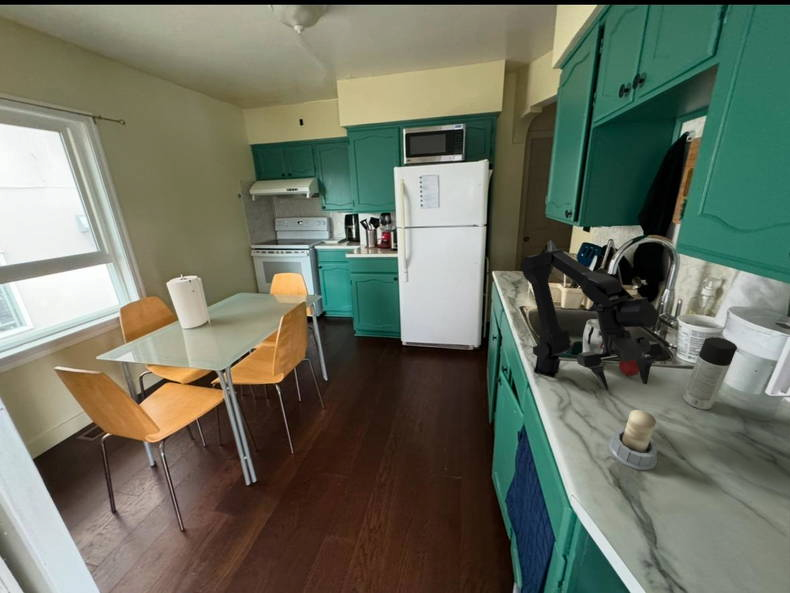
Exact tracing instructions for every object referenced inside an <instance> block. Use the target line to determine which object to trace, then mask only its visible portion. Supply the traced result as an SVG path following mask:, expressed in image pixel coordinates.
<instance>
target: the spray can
mask: <svg viewBox="0 0 790 593" xmlns="http://www.w3.org/2000/svg"><path fill="white" fill-rule="evenodd" d="M737 349H738V346H737V345H736V343H734V342H732V341H730V340H728V339H726V338H723V337H718V336H716V337H713V336H711V337H706V338H704V340H703V343H702V346H701V348H700V350H699V353H698V356H697V358H696V360H695V363H694V366H693V369H692V371H691V373H690V374H691V375H690V376H689V379H688V381H687V384H686V387H685V390H684V392H683V395H682V398H683V401H684V402H685V403H686V404H688V405H689V406H691V407H693V408H696V409H699V410H709V409H711V408H712V407H713V405H714V403H715V402H716V399H717V396H718V394H719V392H720V390H721V387H722V385H723V382H724V381H725V379H726V375H727V373H728V372H729V369H730V367H731V364H732V361H733V359H734V356H735V354H736V352H737Z"/></svg>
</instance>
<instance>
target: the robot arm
mask: <svg viewBox="0 0 790 593" xmlns="http://www.w3.org/2000/svg"><path fill="white" fill-rule="evenodd" d="M552 267H553V268H555V269H556V270H557V271H559V272H560V273H562V274H563V275H564V276H566V277H568V278H569V279H570V280H571V281H573V282H575V283H576V284H578V286H579V287H580V289H581V292H582V293H583V295H585V296H586V297H587V299H589V300H590V301H591V303H592V305H591V306H590V307H589V308H588V312H594V313H596V314H595V315H596V316H597V317H596V319H598V323H599V327H600V332H599V335H600V336H602V341H603V345H604V347H602V349H603V351H602V353H599V354H598V353H595V352H593V351H589V352H583V351H582V352H583V353H582V352H580V353H579V352H578V354H577V355H576V360H577V361H576V362H577V365H579V366H582V367H584V368H587V369H589V370H591V372H592V373H593V375H594V376H595V377H596V378H597V380H598V381H599V383H600V384H601V386H602V387H603V389H604V390H605V391H606V392H608V391H609V386H608V381H607V378H606V375H605V371H604V369H605V366H603V365H602V361H608V360H614V359H619V361H620V360H621V361H624V362H628V361H630V360H637V364H638V368H639V376H640V379H641V382H642V383H643V384H642V385H645V386H646V385H648V380H649V378H650V372H651V367H652V365H653V363H654V362H655V361H656V360H659V359H660V356H663V355H665V349H664V347H663V345H662V344H661V343H659V342H656V341H655V342H654V341H652V340H651V341H650V339H649V338H648V337H647V336H645V335H644V336H639V337H636V338H633V337H632V336H631V333H630V331H629V329H627V328H651V327H654V326H655V325H656V324H657V321H658V319H659V317H658V316H659V313H658V310H657V309H656V307H655V306H654V305H653V304H652V302H649V300H648V297H639V298H635V297H633V295H632V294H631V293H630V292H628V290H627V289H625V287H623V285H622V283H621V281H620V279H619V280H618V278H616V277H613V276H610V275H608V274H605V273H600V272H596V271H593V270H592V269H590V268H588V267H587V266H585V265H584V264H582V263H581V262H579V261H578V260H576V259H575V258H574V257H571V256H569V254H567V253H566V252H565V251H564V250H562V249H561V248H556V249H549V250H546V251H545V252H543V253H539V254H534V255H529V256H524V257H523V258H522V260H521V262H520V270H521V272H522V274H523V277H524V279H526V281H528V282H529V284H530V285H531V287H532V291H533V295H534V300H535V304H536V308H537V313H538V317H539V321H540V325H541V332H540V334H539V339H538V340H539V344H538V345H534V346H533V347H532V354H534V355H535V357H536V361H535V367H534V369H533V372H534V373H536V374H540V375H543V376H546V377H551V378H555V377H556V375H557V374H558V373H559V370H560V364H561V360H562V359H561V358H560V356H563V355H565V354H566V353H567V352H569V351H570V349H571V343H572V341H571V338H570V335H569V334H570V333H569V330H567V329H563V328H562V327H561V326H560V323H559V320H558V316H557V312H556V307H555V304H554V301H553V300H554V299H553V296H552V292H551V288H550V284H549V283H550V282H549V278H550V275H551V272H552V271H551V270H552V269H551V268H552Z"/></svg>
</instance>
